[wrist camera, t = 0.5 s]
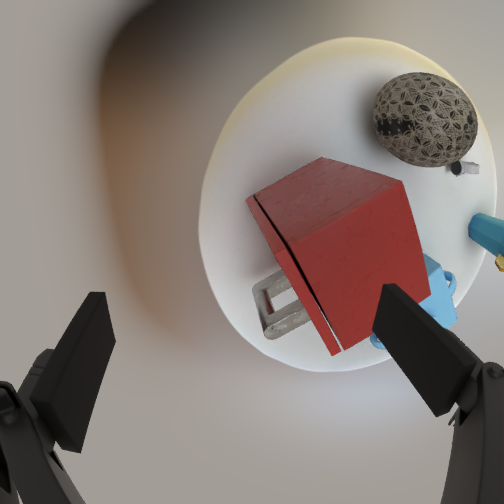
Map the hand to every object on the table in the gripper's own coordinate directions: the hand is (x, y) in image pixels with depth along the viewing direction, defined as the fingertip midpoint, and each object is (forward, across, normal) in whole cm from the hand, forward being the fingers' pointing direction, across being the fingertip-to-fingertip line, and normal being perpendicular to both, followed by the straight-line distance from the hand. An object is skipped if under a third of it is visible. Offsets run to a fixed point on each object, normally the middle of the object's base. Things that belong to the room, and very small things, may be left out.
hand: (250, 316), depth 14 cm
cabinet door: (+26, +4, -6) cm, 27 cm away
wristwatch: (+26, +36, +8) cm, 45 cm away
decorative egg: (+26, +23, +12) cm, 37 cm away
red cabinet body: (+26, +11, -2) cm, 28 cm away
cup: (+26, +46, -2) cm, 53 cm away
